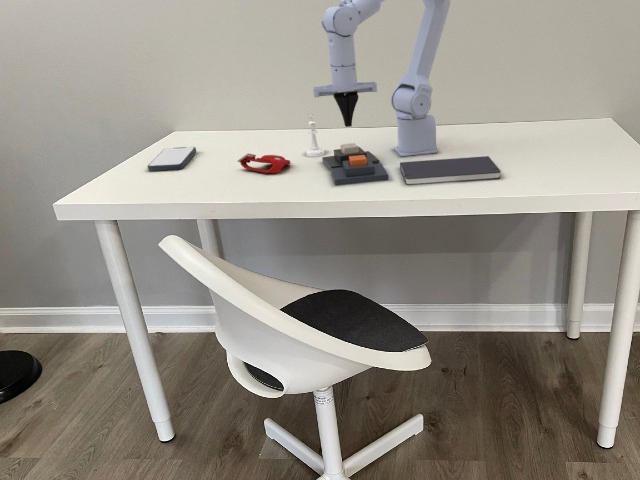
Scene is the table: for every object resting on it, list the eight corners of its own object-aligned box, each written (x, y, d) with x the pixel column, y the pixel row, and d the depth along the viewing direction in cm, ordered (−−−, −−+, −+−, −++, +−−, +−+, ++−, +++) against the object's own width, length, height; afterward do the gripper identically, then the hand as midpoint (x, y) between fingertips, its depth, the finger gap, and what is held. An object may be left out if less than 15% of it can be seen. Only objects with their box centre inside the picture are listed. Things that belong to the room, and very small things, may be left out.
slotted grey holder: (381, 169, 148) (380, 155, 146) (388, 180, 140) (387, 166, 138) (331, 174, 146) (330, 160, 144) (335, 185, 138) (333, 171, 137)
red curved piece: (285, 156, 157) (296, 155, 148) (285, 174, 158) (295, 174, 149) (236, 152, 152) (244, 151, 143) (236, 170, 152) (244, 171, 144)
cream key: (355, 150, 153) (354, 143, 152) (359, 153, 150) (358, 146, 149) (340, 151, 152) (340, 144, 151) (344, 155, 149) (343, 148, 148)
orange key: (365, 162, 143) (364, 154, 143) (367, 166, 140) (366, 159, 140) (349, 163, 143) (348, 156, 142) (351, 168, 140) (350, 160, 139)
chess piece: (321, 156, 160) (317, 116, 155) (303, 156, 161) (298, 116, 156) (327, 151, 164) (323, 112, 159) (309, 150, 165) (305, 112, 160)
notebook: (488, 162, 149) (400, 168, 147) (488, 155, 148) (399, 162, 147) (501, 178, 138) (405, 185, 136) (501, 171, 137) (405, 178, 136)
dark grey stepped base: (369, 156, 158) (368, 143, 156) (379, 165, 150) (378, 152, 149) (322, 162, 155) (321, 149, 153) (331, 172, 147) (329, 159, 146)
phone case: (183, 170, 154) (198, 152, 168) (181, 164, 154) (197, 146, 167) (147, 172, 154) (165, 153, 168) (145, 166, 153) (164, 147, 167)
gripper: (371, 60, 146) (374, 119, 152) (309, 65, 143) (315, 125, 149) (377, 64, 140) (380, 125, 146) (312, 69, 137) (319, 131, 143)
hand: (348, 125), depth 147 cm, fingers closed
